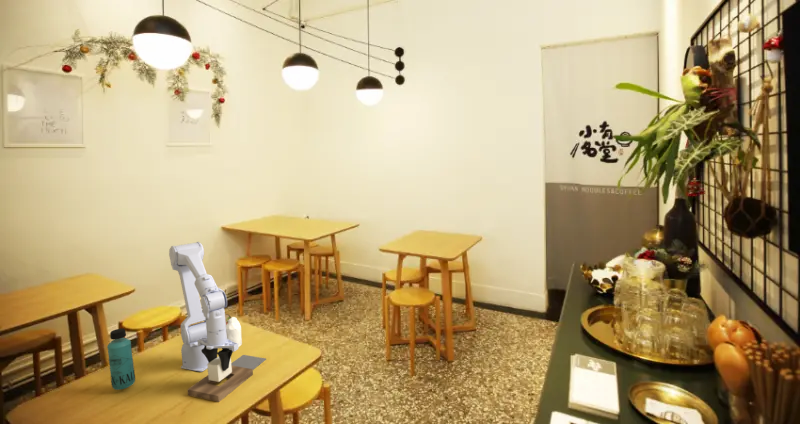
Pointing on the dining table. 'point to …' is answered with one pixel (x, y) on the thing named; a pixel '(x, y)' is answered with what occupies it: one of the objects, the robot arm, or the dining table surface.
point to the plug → (217, 370)
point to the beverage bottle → (120, 360)
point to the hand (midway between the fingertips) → (219, 368)
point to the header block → (217, 393)
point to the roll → (234, 331)
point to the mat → (248, 361)
